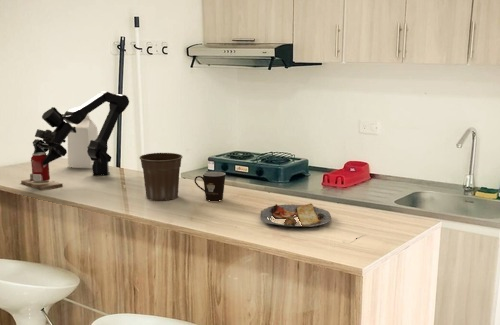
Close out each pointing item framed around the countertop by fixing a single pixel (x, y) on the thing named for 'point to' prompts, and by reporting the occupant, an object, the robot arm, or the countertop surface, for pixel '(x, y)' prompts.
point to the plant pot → (161, 175)
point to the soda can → (39, 168)
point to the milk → (81, 144)
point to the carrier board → (41, 184)
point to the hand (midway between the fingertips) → (37, 163)
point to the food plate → (305, 214)
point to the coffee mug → (213, 185)
